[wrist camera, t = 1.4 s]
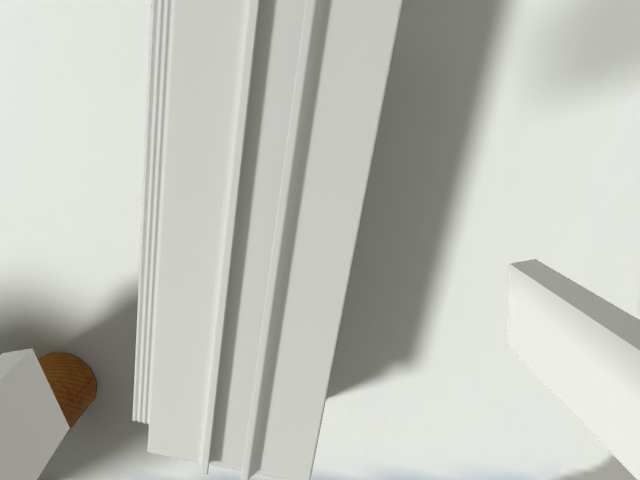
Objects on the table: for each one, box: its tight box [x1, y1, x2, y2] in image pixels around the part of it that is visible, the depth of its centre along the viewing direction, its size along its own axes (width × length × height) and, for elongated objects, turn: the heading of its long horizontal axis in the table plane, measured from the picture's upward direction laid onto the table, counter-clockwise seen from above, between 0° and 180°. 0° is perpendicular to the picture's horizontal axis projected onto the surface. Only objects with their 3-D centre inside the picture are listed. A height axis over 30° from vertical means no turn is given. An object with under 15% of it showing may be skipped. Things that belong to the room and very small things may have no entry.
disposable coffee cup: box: [38, 353, 97, 436], centre depth 31 cm, size 10×10×12 cm
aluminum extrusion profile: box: [132, 0, 403, 480], centre depth 27 cm, size 14×31×10 cm, turn 171°
